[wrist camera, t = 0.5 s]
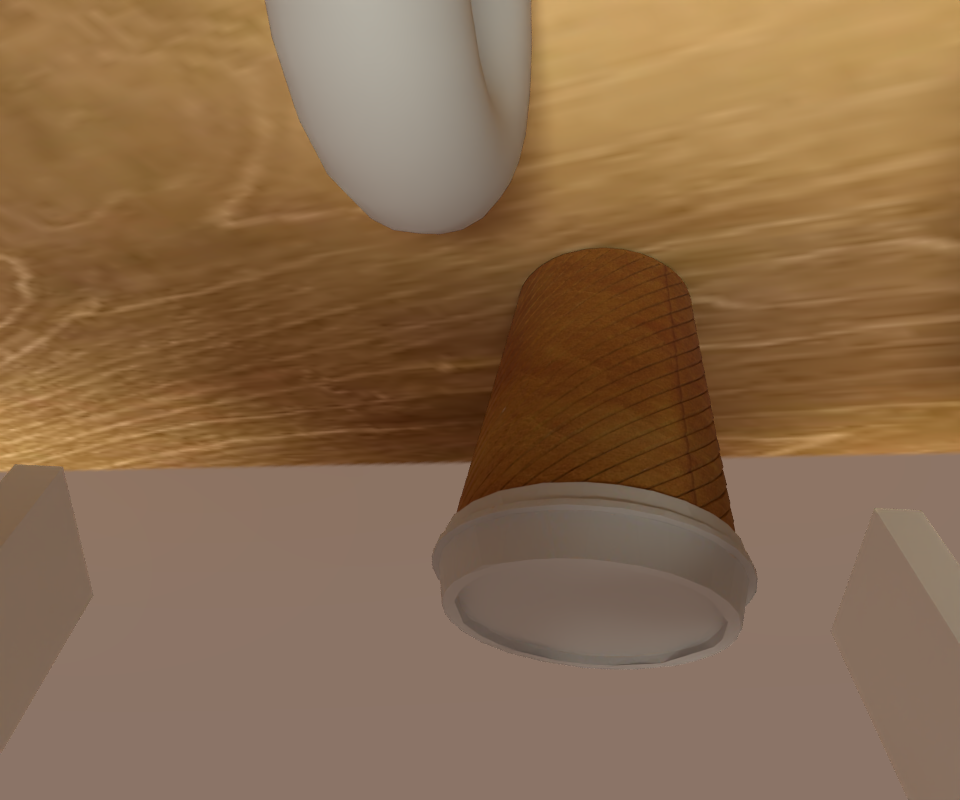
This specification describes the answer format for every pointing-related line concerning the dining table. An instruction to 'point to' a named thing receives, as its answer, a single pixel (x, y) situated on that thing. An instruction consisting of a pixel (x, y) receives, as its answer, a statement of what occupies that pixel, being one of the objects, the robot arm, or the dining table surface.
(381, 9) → the donut
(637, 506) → the disposable coffee cup
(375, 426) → the dining table surface
